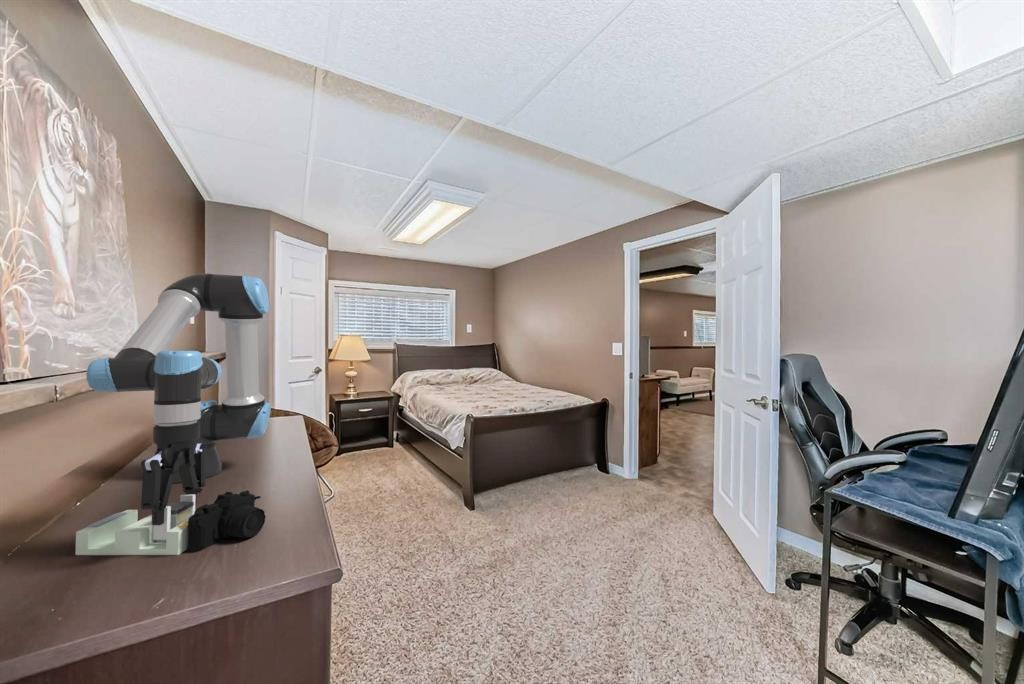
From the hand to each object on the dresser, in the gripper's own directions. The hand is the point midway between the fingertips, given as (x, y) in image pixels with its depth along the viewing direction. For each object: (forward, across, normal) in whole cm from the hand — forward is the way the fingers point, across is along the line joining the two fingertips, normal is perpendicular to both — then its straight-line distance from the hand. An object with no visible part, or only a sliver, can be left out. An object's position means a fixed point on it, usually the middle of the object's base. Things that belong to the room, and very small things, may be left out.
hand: (174, 531), depth 79 cm
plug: (+2, 0, 0) cm, 2 cm away
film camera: (+3, -2, +11) cm, 11 cm away
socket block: (+2, 0, -5) cm, 6 cm away
